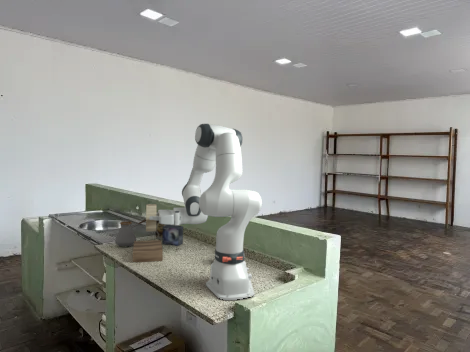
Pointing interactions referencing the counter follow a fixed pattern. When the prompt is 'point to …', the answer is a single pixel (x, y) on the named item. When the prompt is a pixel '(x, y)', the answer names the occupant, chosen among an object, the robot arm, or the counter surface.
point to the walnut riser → (147, 251)
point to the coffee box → (159, 229)
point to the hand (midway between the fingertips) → (149, 216)
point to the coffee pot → (126, 234)
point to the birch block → (149, 216)
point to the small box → (172, 235)
